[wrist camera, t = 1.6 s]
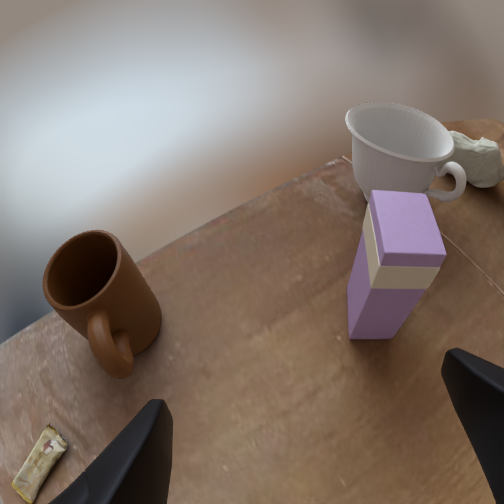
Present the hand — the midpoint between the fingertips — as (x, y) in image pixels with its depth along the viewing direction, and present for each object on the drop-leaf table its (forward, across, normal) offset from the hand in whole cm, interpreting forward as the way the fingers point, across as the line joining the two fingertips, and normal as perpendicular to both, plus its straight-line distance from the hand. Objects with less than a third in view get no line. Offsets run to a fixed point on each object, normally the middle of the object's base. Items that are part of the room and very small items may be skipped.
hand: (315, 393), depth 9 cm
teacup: (+28, -16, +2) cm, 32 cm away
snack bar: (+4, +22, +16) cm, 28 cm away
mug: (+16, +13, +9) cm, 23 cm away
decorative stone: (+33, -32, -1) cm, 46 cm away
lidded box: (+16, -8, +9) cm, 20 cm away
